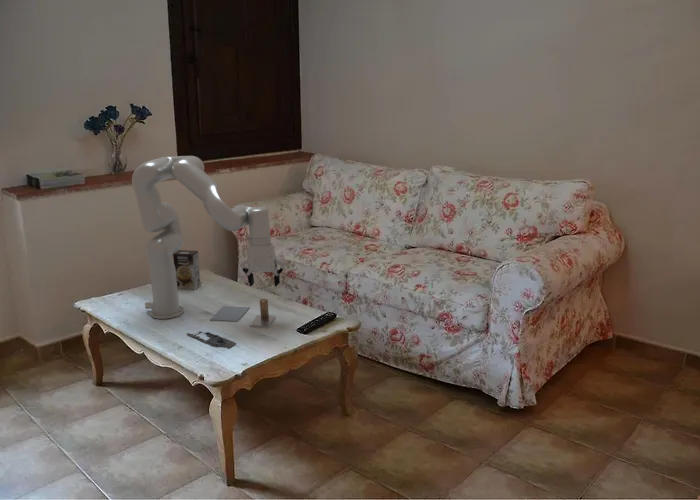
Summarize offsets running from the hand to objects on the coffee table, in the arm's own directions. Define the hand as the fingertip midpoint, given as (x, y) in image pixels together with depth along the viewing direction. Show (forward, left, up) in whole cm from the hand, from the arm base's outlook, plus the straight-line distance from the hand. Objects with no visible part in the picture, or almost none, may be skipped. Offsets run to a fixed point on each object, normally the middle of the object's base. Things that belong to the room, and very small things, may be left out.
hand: (264, 285), depth 241 cm
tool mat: (-16, +4, -14) cm, 21 cm away
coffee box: (-45, +32, -14) cm, 56 cm away
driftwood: (-14, -20, -15) cm, 28 cm away
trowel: (-1, -3, -14) cm, 14 cm away
